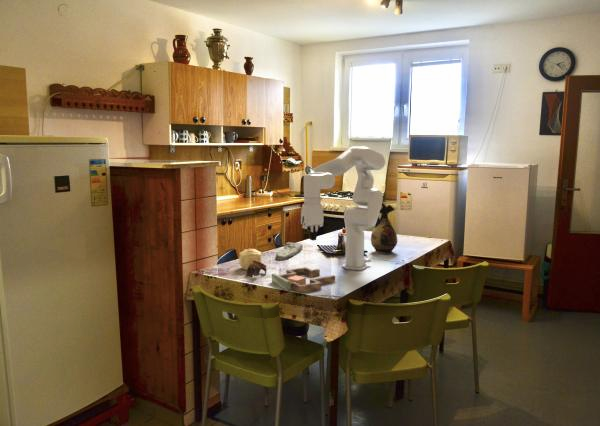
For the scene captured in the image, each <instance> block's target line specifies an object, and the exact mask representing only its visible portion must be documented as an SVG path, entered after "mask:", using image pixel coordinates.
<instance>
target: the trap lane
mask: <svg viewBox="0 0 600 426" xmlns="http://www.w3.org/2000/svg"><path fill="white" fill-rule="evenodd" d="M320 274H321V270H320V268H315V269H311V268H309V267H307V266H304V267H297V268H291V269H286V272H285V273H284V274H282V273H281V274H276V273H271V283H272V284H274V285H276V286H278V287H280V288H281V287H282V289H283V288H284V289H283V290H285V289H286V290H285V291H287V290H288V291H295V292H297V293H299V294H303V293H302V292H304V293H307V292H314V291H313V290H315V291H320V290H322V285H327V283H328V284H332V283H333V282H334V283H336V275H327V276H322V277H321V275H320ZM295 275H297V276H301V277H305V278H306V277H310V279H309V283H306V284H305V285H300V284H298V283H296V282H290V281H288V280H287V278H289V277H292V276H295ZM319 276H320V277H319ZM312 277H315V278H312ZM334 283H333V284H334ZM292 289H293V290H292Z"/></svg>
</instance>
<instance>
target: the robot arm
mask: <svg viewBox="0 0 600 426" xmlns="http://www.w3.org/2000/svg"><path fill="white" fill-rule="evenodd" d="M385 165H386V159H385V157H384V155H383V154H382V153H380V152H379V151H376V150H374V149H372V148H371V147H367V146H351V147H350V146H349V148H347V149H345V150H344V151H343V152H342V153H340V154H339V155H338V156H337V157H336V158H334V159H331V160H328V161H326V162H324V163H321V164H319V165H317V166H316V167H314V168H313V169H311V171H309V173H307V174H304V176H303V202H304V203H302V206H301V213H300V224H301V225H302V226H301V228H302V229H304V230H307V231H308V232H309V235H308V236H309V237H308V238H309V240H311V241H317V237H318V236H317V232H318V230H319V229H320V228H321V227H324V217H325V216H324V210H323V209H324V208H323V205H322V203H321V201H323V197H321V190H324V189H325V190H328V189H329V190H330V189H331V188H333V187H335V184H336V178H335V176H336V177H337V176H340V175H344V174H346V173H347V172H348V171H349V170H350V169H352V168H353V167H355V170H356V173H357V180H356V184H355V187H354V191H353V194H352V203H353V204H354V205H356V206H350V207H348V208H346V209H345V210H344V213H343V220H344V226H345V261H344V262H345V263H343V264H342V268H343V269H345V270H350V271H363V270H366V268H368V267H367V266H368V265H367V263H371V262H372V259H371V258H365V232H364V230H363V228H373V227H375V224H376V222H377V219H378V216H380V213H379V212H380V210H381V209H382V206H381V205H382V203H383V200H384V196H383V193H382V191H381V190H380V189H377V188H373V187H374V183H375V181H374V180H375V179H374V175H373V173H372V172H371V171H381V170H382V169H384V167H385ZM358 206H359V207H358ZM365 207H366V208H365Z"/></svg>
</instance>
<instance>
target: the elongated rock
mask: <svg viewBox="0 0 600 426" xmlns="http://www.w3.org/2000/svg"><path fill="white" fill-rule="evenodd" d="M303 246H304V245H303V243H299V242H298V243H297V242H296V243H295V242H293V241H291V242H289V241H288V242H285V246H284V248H283V249H282V250H280V251H278V252H277V253H275V259H276V260H278V261H286V260H287V259H289V258H293V256H295V255H297V254H298V253H300V252H301V251H302V249H303Z"/></svg>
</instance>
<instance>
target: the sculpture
mask: <svg viewBox="0 0 600 426" xmlns="http://www.w3.org/2000/svg"><path fill="white" fill-rule="evenodd" d="M253 261H258V262H261V263H262V261H263V260H262V252H261V251H259V250H257V249H256V248H248V249H246V248H244V249H243V250H242V251H240V252H239V258H238V264H239V266H240V268H242V270H245V271H247V270H248V267H249V265H250V264H251V263H253ZM253 268H255V267H253Z"/></svg>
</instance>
